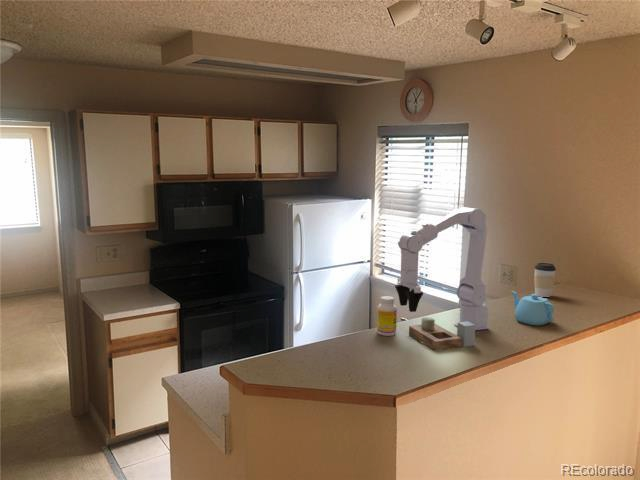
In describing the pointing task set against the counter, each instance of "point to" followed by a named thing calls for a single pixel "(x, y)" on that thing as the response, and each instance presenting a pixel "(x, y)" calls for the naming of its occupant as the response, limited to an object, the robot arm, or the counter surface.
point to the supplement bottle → (386, 316)
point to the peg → (466, 333)
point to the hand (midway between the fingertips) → (408, 308)
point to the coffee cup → (544, 279)
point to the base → (434, 335)
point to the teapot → (533, 309)
